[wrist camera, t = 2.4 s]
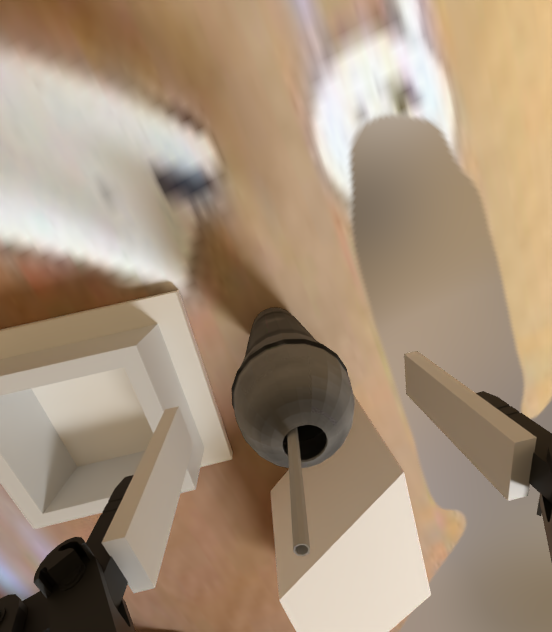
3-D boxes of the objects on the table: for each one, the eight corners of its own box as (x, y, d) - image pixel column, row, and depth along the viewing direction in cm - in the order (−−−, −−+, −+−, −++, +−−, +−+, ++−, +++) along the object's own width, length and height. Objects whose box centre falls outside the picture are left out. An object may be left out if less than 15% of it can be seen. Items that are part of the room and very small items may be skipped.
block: (255, 569, 38) (257, 691, 28) (289, 387, 29) (309, 468, 19) (354, 567, 40) (389, 680, 30) (411, 397, 31) (489, 474, 21)
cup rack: (232, 452, 31) (229, 501, 25) (63, 493, 30) (20, 553, 25) (178, 289, 25) (157, 306, 19) (-37, 337, 24) (-125, 369, 18)
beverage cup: (288, 371, 28) (367, 647, 9) (226, 344, 27) (171, 613, 8) (322, 313, 27) (500, 507, 8) (259, 281, 25) (288, 426, 6)
